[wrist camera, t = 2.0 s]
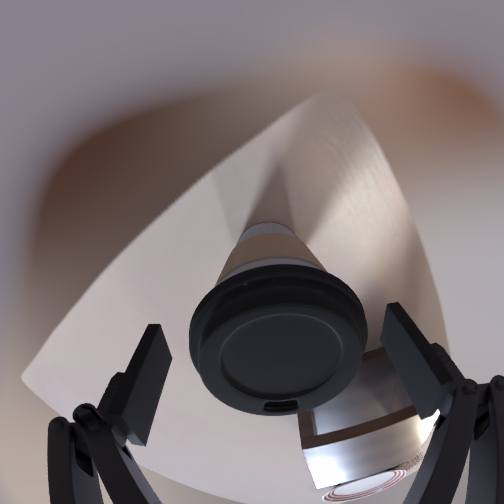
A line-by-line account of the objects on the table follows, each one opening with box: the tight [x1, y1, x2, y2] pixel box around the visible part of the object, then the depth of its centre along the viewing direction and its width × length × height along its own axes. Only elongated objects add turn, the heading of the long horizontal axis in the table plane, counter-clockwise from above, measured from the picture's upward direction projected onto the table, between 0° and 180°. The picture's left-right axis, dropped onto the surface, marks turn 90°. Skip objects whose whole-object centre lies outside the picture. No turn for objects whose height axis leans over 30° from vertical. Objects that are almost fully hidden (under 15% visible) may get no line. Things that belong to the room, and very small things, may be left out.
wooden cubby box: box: [297, 347, 440, 488], centre depth 29 cm, size 18×16×12 cm
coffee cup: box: [189, 223, 368, 416], centre depth 19 cm, size 9×9×15 cm
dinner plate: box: [322, 469, 407, 502], centre depth 54 cm, size 27×27×3 cm
